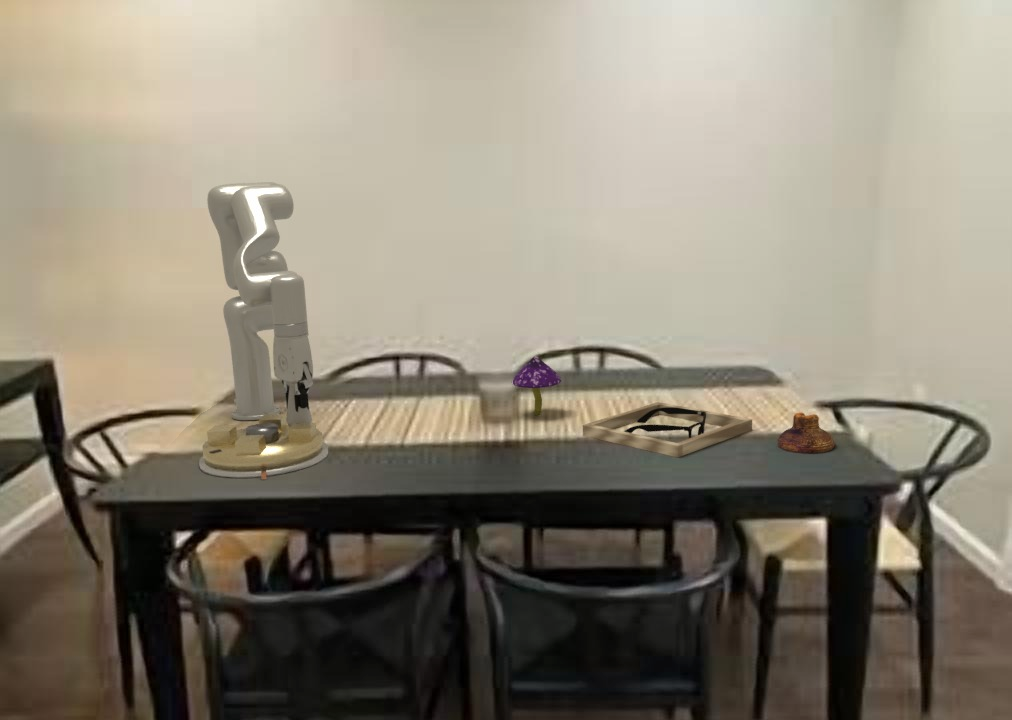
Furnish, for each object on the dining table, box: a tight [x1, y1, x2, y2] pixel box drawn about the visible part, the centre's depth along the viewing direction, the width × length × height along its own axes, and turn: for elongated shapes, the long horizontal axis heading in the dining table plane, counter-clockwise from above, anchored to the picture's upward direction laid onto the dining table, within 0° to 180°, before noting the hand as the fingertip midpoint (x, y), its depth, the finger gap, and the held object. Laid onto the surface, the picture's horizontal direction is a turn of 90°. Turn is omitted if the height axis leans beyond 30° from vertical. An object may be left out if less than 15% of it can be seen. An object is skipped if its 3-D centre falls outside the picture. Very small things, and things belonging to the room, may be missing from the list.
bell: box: [777, 412, 836, 455], centre depth 215 cm, size 12×12×7 cm
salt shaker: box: [286, 377, 313, 427], centre depth 229 cm, size 6×6×13 cm
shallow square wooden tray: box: [582, 401, 753, 458], centre depth 230 cm, size 27×27×2 cm
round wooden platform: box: [202, 413, 324, 471], centre depth 224 cm, size 26×26×6 cm
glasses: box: [624, 407, 706, 439], centre depth 230 cm, size 17×18×5 cm
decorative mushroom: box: [512, 356, 563, 416], centre depth 249 cm, size 12×12×15 cm
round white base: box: [198, 442, 329, 481], centre depth 225 cm, size 28×28×1 cm
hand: (297, 408), depth 229 cm, fingers closed on salt shaker, 3 cm apart
